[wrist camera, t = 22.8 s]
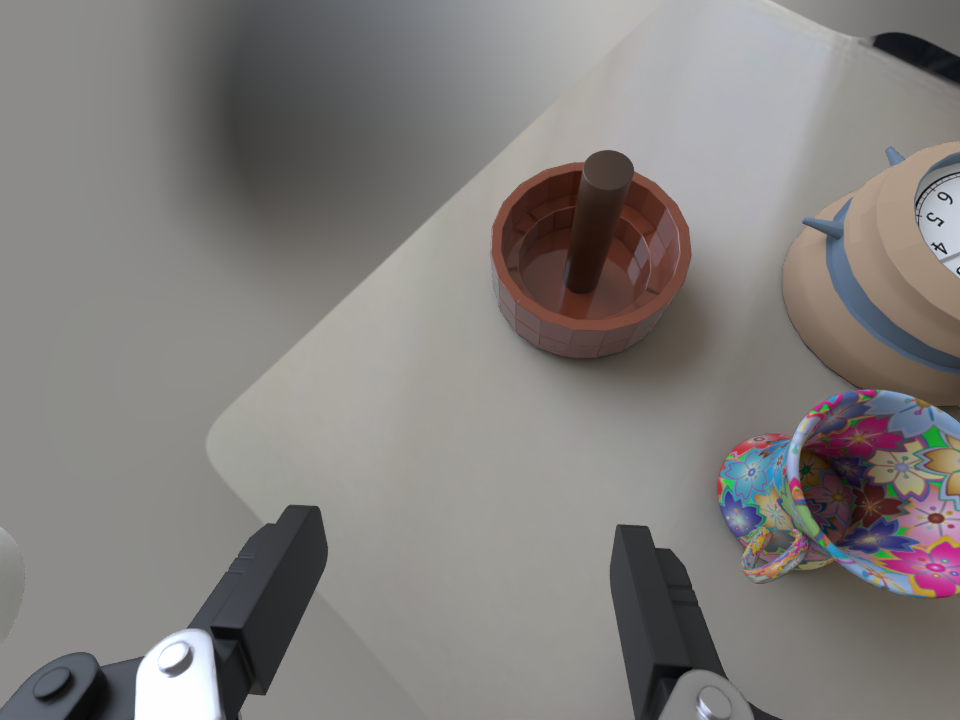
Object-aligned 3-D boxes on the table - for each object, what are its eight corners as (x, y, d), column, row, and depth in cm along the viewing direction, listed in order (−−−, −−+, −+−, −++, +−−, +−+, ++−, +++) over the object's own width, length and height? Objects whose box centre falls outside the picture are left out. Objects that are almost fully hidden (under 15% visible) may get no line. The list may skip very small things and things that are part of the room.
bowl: (490, 359, 36) (485, 327, 31) (498, 213, 41) (495, 162, 35) (671, 364, 35) (700, 333, 29) (658, 213, 40) (682, 161, 34)
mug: (776, 405, 33) (886, 353, 24) (885, 518, 31) (1063, 513, 21) (646, 504, 32) (704, 493, 22) (747, 634, 29) (868, 690, 19)
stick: (563, 293, 37) (583, 190, 26) (563, 262, 38) (582, 149, 27) (599, 294, 37) (635, 190, 25) (598, 263, 38) (633, 149, 26)
